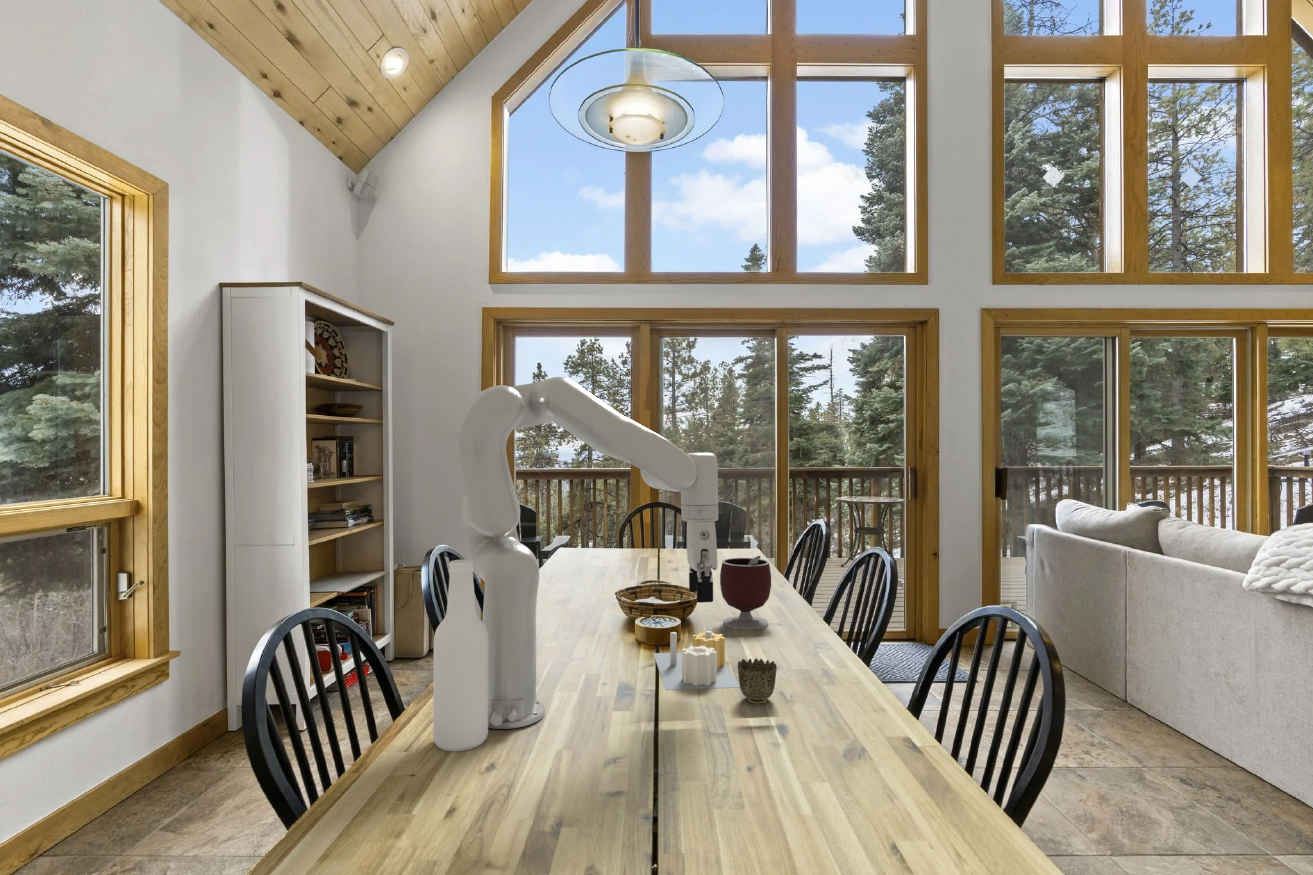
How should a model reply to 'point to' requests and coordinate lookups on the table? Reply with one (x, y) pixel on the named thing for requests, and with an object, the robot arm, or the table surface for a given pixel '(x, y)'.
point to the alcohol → (460, 667)
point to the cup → (757, 679)
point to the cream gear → (699, 665)
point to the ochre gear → (712, 645)
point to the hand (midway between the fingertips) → (700, 596)
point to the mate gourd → (745, 590)
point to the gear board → (673, 670)
